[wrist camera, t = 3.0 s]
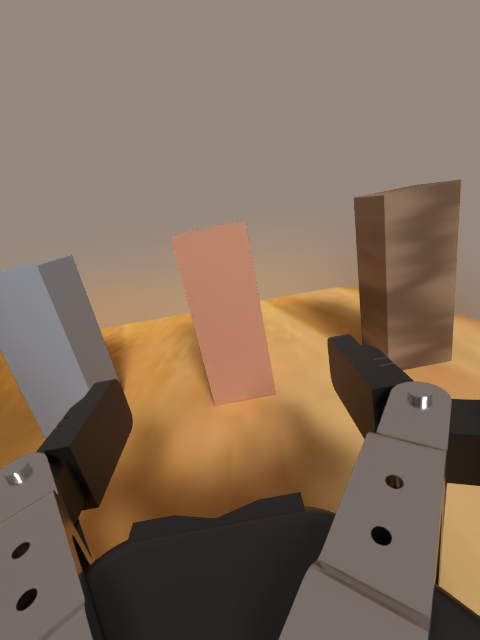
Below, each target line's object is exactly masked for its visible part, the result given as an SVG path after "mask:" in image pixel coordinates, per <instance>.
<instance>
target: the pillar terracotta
mask: <svg viewBox="0 0 480 640" xmlns="http://www.w3.org/2000/svg"><path fill="white" fill-rule="evenodd" d="M171 240H172V244H173V248H174V251H175V255H176V259H177V263H178V267H179V270H180V274H181V278H182V282H183V285H184V289H185V293H186V297H187V301H188V305H189V309H190V312H191V316H192V320H193V324H194V328H195V331H196V335H197V339H198V343H199V347H200V351H201V354H202V358H203V362H204V366H205V370H206V373H207V377H208V381H209V385H210V389H211V393H212V396H213V400H214V404H215V406H216V405H222V404H227V403H232V402H237V401H243V400H248V399H253V398H258V397H263V396H269V395H274V394H276V391H275V386H274V380H273V374H272V369H271V363H270V358H269V352H268V346H267V341H266V335H265V329H264V324H263V318H262V312H261V307H260V301H259V296H258V290H257V285H256V278H255V273H254V267H253V262H252V256H251V250H250V245H249V239H248V233H247V228H246V224H245V222H243V221H237V222H233V223H227V224H222V225H217V226H212V227H207V228H202V229H197V230H193V231H188V232H183V233H180V234H178V235H177V236H175V237H173V238H171Z"/></svg>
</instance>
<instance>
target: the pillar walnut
mask: <svg viewBox="0 0 480 640" xmlns="http://www.w3.org/2000/svg"><path fill="white" fill-rule="evenodd" d="M460 186H461V180H454V181H446V182H437V183H429V184H421V185H414V186H410V187H404V188H399V189H395V190H390V191H385V192H380V193H375V194H370V195H365V196H360V197H355V198H354V210H355V225H356V243H357V259H358V277H359V295H360V312H361V329H362V345H363V344H368V345H370V346H373V347H375V348H378V349H379V350H380V351H381V352H383V353H384V354H385V355H386V356H387V358H389V359H390V360H391V361H392V362H393V364H396V365H397V366H398V367H399V368H400V369H401V370H405V369H410V368H415V367H420V366H426V365H431V364H436V363H441V362H447V361H451V358H452V339H453V320H454V301H455V281H456V263H457V243H458V224H459V206H460Z"/></svg>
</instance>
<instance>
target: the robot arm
mask: <svg viewBox="0 0 480 640" xmlns="http://www.w3.org/2000/svg"><path fill="white" fill-rule="evenodd" d="M328 354H329V363H330V373H331V379H332V383H333V386H334V389H335V391H336V393H337V394H338V396H339V398H340V399H341V401H342V403H343V404H344V406H345V408H346V409H347V411H348V413H349V414H350V416H351V417H352V419H353V421H354V422H355V424H356V426H357V427H358V429H359V431H360V432H361V434H362V436H363V437H364V439H365V440H364V443H363V446H362V448H361V451H360V453H359V456H358V458H357V461H356V464H355V466H354V469H353V471H352V474H351V477H350V479H349V482H348V484H347V487H346V490H345V492H344V495H343V497H342V500H341V503H340V505H339V508H338V510H337V513H336V514H335V513H333V512H330V511H327V510H323V509H319V508H313V507H304V504H303V500H302V497H301V493H300V492H299V493H293V494H288V495H282V496H277V497H272V498H266V499H261V500H257V501H255V502H253V503H250V504H248V505H246V506H244V507H241V508H239V509H237V510H235V511H232V512H230V513H228V514H225V515H223V516H221V517H218V518H201V517H187V516H168V517H163V518H157V519H152V520H146V521H141V522H136V523H133V525H132V528H131V532H130V535H129V539H128V540H127V541H124V542H122V543H121V544H119V545H117V546H115V547H113V548H112V549H111V550H109V551H108V552H106V553H105V554H103V555H102V556H101V557H99V558H98V559H97V560H96V561H95V558H94V556H93V553H92V550H91V547H90V545H89V542H88V539H87V536H86V534H85V531H84V528H83V526H82V523H81V521H80V520H79V518H78V517H79V515H80V513H81V511H82V510H87V509H92V508H98V507H99V505H100V503H101V501H102V498H103V496H104V494H105V491H106V489H107V487H108V484H109V482H110V479H111V477H112V475H113V472H114V470H115V468H116V465H117V463H118V460H119V458H120V456H121V453H122V451H123V449H124V446H125V444H126V442H127V439H128V437H129V434H130V432H131V429H132V424H133V420H132V414H131V411H130V408H129V405H128V403H127V400H126V397H125V395H124V392H123V389H122V387H121V384H120V382H119V381H118V380H117V379H112V380H107V381H101V382H96V383H94V384H93V386H92V387H91V388H90V390H89V391H88V392H87V394H86V395H85V396H84V398H82V399H81V400H80V401H78V402H77V403H76V404H75V405H73V406H72V407H71V408H70V409H69V410H68V412H67V413H66V414H65V416H64V417H63V419H62V420H61V421H60V422H59V423H58V425H57V428H54V430H53V431H52V432H51V434H50V435H49V436H48V438H47V439H46V440H45V441H44V443H43V444H42V445H41V447H40V448H39V449H38V450H37V452H36V453H32V454H28V455H25V456H23V457H20V458H18V459H16V460H15V461H13V462H11V463H10V464H8V465H7V466H5V467H4V468H3V469H1V470H0V640H480V616H479V615H477V614H476V613H475V612H473V611H472V610H471V609H469V608H468V607H467V606H465V605H464V604H463V603H461V602H460V601H459V600H457V599H456V598H455V597H453V596H452V595H451V594H449V593H448V592H446V591H445V590H444V589H442V588H441V587H440V586H439V583H440V569H441V554H442V540H443V528H444V516H445V503H446V491H447V483H455V484H465V485H475V486H480V400H461V399H451V397H450V395H449V394H448V393H447V392H446V391H445V390H443V389H442V388H440V387H438V386H435V385H433V384H429V383H424V382H414V381H413V380H412V379H411V378H410V377H409V376H408V375H407V374H406V373H405V372H403V371H402V370H401V369H400V368H399V367H398V366H397V365H396V364H393V362H392V361H391V360H390V359H389V358H387V356H386V355H385V354H384V353H383V352H381V351H380V350H379V349H378V348H375V347H373V346H370V345H368V344H363V345H359V344H358V343H357V341H356V340H355V339H354V338H353V337H352V336H351V335H349V334H346V335H341V336H335V337H330V338H328Z"/></svg>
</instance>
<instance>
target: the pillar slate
mask: <svg viewBox="0 0 480 640" xmlns="http://www.w3.org/2000/svg"><path fill="white" fill-rule="evenodd" d="M0 351H1V353H2V355H3V357H4V359H5V361H6V363H7V365H8V367H9V369H10V371H11V372H12V374H13V376H14V378H15V380H16V382H17V384H18V386H19V388H20V390H21V392H22V394H23V396H24V398H25V400H26V402H27V404H28V406H29V408H30V410H31V412H32V414H33V416H34V418H35V419H36V421H37V423H38V425H39V427H40V429H41V431H42V433H43V435H44V437H45V438H48V436H49V435H50V434H51V432H52V431H53V430H54V428H57V425H58V423H59V422H60V421H61V420H62V419H63V417H64V416H65V414H66V413H67V412H68V410H69V409H70V408H71V407H72V406H73V405H75V404H76V403H77V402H78V401H80V400H81V399H82V398H84V396H85V395H86V394H87V392H88V391H89V390H90V388H91V387H92V386H93V384H94V383H96V382H101V381H107V380H112V379H117V380H118V381H119V379H118V376H117V373H116V371H115V368H114V365H113V363H112V360H111V358H110V355H109V352H108V350H107V347H106V344H105V342H104V339H103V336H102V334H101V331H100V328H99V326H98V323H97V320H96V318H95V315H94V312H93V310H92V307H91V305H90V302H89V299H88V296H87V294H86V291H85V288H84V286H83V283H82V281H81V278H80V275H79V272H78V270H77V267H76V264H75V262H74V259H73V256H72V255H70V256H65V257H60V258H55V259H50V260H45V261H40V262H35V263H30V264H26V265H20V266H15V267H11V268H7V269H4V270H0ZM119 382H120V381H119Z"/></svg>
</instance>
